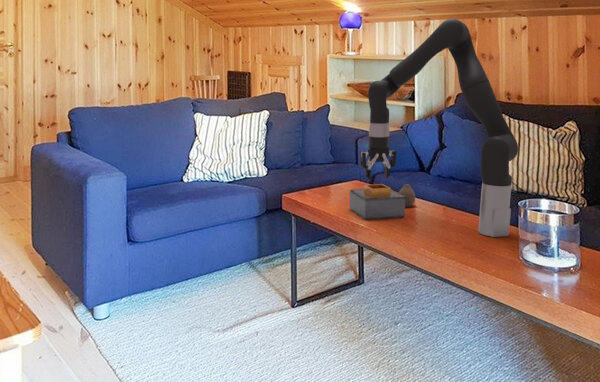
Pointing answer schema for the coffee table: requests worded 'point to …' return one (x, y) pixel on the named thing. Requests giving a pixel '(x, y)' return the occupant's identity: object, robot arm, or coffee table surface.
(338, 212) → the coffee table surface
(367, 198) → the grey box with opening
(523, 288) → the coffee table surface
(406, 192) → the vase
